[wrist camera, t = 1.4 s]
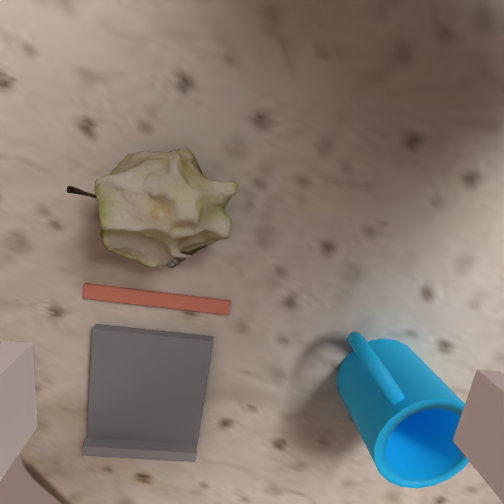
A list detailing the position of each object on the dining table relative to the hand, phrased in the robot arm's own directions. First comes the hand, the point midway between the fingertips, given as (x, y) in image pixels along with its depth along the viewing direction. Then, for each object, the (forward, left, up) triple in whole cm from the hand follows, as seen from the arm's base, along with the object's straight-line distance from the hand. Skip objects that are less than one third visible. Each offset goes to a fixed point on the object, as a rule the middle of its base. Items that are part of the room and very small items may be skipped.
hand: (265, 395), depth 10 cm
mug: (+10, +14, -19) cm, 25 cm away
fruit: (-3, -6, -19) cm, 20 cm away
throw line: (+6, -6, -18) cm, 20 cm away
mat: (+15, -6, -18) cm, 24 cm away
